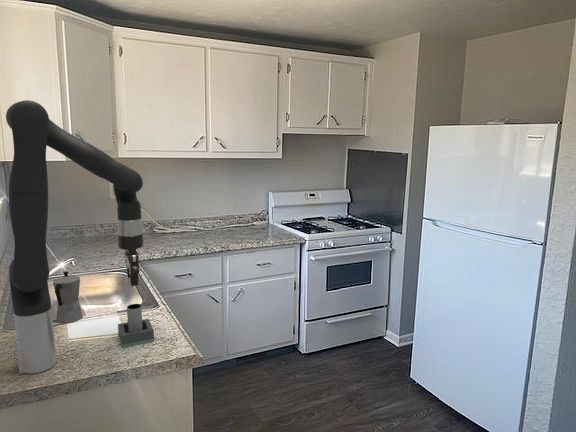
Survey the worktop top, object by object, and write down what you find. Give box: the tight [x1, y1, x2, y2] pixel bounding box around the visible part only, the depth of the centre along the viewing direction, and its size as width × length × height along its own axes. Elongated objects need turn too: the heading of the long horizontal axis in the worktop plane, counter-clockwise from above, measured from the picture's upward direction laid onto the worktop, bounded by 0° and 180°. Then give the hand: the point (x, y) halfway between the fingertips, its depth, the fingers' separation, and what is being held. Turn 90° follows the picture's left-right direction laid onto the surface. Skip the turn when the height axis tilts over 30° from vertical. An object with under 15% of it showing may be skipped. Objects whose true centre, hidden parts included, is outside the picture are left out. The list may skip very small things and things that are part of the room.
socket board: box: [117, 318, 155, 348], centre depth 143 cm, size 10×10×4 cm
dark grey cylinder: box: [126, 303, 143, 333], centre depth 142 cm, size 4×4×10 cm
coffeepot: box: [52, 270, 83, 324], centre depth 156 cm, size 15×9×18 cm, turn 6°
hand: (132, 281), depth 140 cm, fingers open, 8 cm apart
